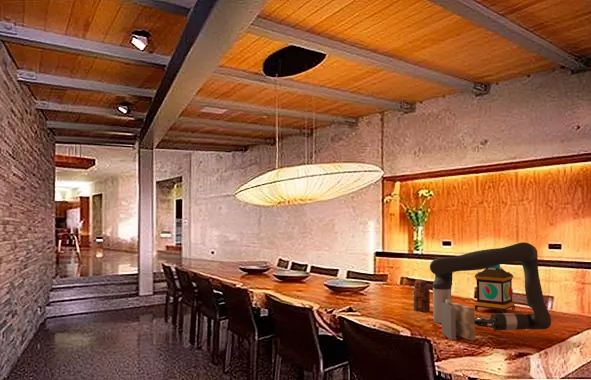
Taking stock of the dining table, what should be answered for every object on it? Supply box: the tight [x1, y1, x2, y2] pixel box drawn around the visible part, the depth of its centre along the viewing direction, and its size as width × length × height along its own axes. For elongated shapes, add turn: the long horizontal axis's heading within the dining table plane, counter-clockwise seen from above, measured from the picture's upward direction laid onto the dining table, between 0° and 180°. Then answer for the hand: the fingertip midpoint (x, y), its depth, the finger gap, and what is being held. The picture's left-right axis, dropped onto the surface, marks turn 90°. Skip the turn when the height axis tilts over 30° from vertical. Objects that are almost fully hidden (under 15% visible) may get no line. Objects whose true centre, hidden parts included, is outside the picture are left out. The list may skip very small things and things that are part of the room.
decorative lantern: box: [474, 264, 516, 313], centre depth 278 cm, size 20×20×30 cm
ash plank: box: [448, 301, 476, 342], centre depth 215 cm, size 16×2×14 cm, turn 18°
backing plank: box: [441, 299, 457, 341], centre depth 218 cm, size 17×5×15 cm, turn 0°
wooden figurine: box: [413, 279, 431, 313], centre depth 278 cm, size 12×6×18 cm, turn 33°
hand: (465, 322), depth 214 cm, fingers closed
